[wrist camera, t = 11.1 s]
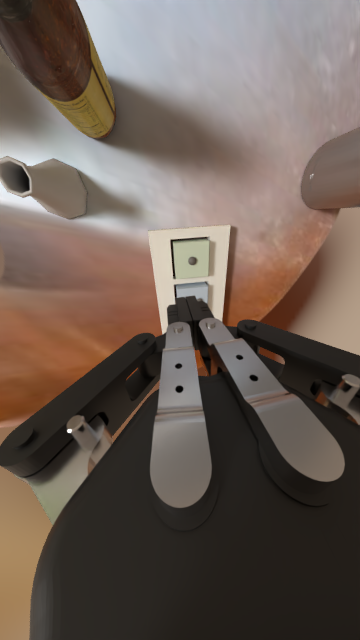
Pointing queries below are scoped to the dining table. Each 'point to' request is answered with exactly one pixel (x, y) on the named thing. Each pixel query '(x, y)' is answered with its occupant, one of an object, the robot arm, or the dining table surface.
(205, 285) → the tile two
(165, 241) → the board
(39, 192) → the flask
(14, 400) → the dining table surface
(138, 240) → the dining table surface
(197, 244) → the tile one
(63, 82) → the sauce bottle
